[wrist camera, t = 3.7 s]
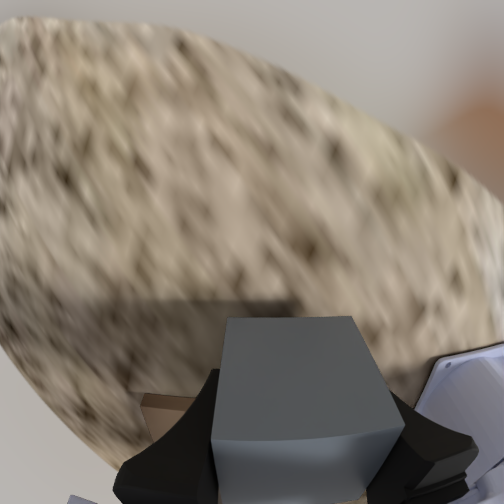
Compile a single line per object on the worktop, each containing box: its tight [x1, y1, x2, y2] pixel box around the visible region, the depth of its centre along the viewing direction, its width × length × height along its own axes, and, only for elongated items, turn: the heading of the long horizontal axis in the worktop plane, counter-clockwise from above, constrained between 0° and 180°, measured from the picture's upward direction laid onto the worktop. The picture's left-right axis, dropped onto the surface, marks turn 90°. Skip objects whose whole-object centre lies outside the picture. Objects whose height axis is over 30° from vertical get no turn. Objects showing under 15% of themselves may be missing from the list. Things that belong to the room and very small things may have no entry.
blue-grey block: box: [211, 316, 405, 504], centre depth 11 cm, size 6×6×7 cm
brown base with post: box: [140, 393, 222, 504], centre depth 16 cm, size 10×11×6 cm
